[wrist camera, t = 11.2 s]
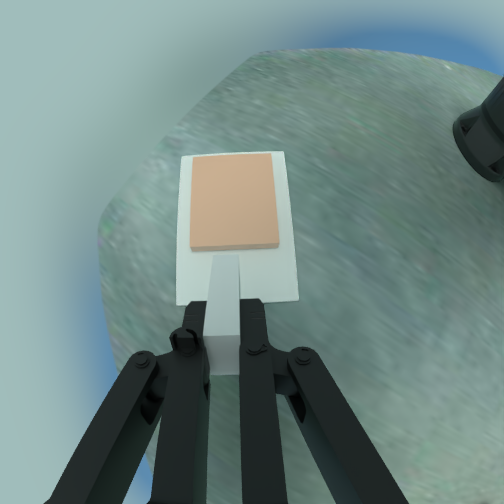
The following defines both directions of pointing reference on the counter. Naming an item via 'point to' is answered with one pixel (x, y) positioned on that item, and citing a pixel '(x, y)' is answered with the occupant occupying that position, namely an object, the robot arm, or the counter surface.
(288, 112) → the counter surface
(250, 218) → the terracotta tile
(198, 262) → the white rectangular board
